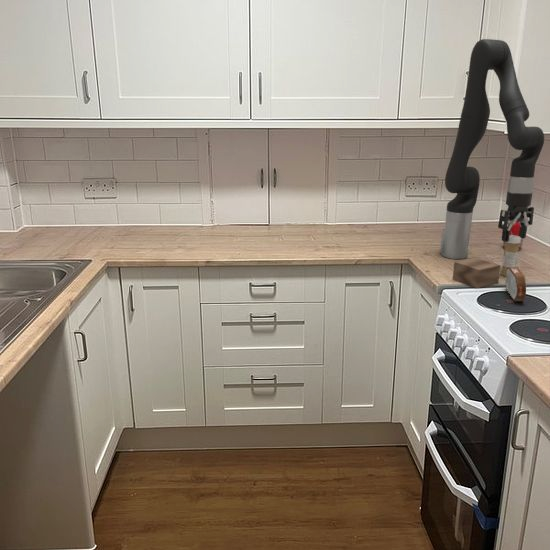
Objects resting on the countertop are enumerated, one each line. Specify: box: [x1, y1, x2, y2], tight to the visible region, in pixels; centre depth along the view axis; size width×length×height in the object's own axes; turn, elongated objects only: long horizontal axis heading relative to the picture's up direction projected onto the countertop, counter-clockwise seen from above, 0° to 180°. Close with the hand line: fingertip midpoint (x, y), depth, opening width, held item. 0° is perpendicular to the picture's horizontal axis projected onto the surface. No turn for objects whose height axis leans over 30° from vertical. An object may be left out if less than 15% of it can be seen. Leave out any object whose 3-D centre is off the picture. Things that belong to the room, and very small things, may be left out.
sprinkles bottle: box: [500, 235, 521, 277], centre depth 184 cm, size 5×5×14 cm
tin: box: [505, 265, 527, 302], centre depth 165 cm, size 15×3×8 cm, turn 170°
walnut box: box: [452, 257, 502, 289], centre depth 179 cm, size 10×10×6 cm
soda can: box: [502, 220, 524, 251], centre depth 216 cm, size 7×7×12 cm
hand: (513, 239), depth 182 cm, fingers open, 8 cm apart
